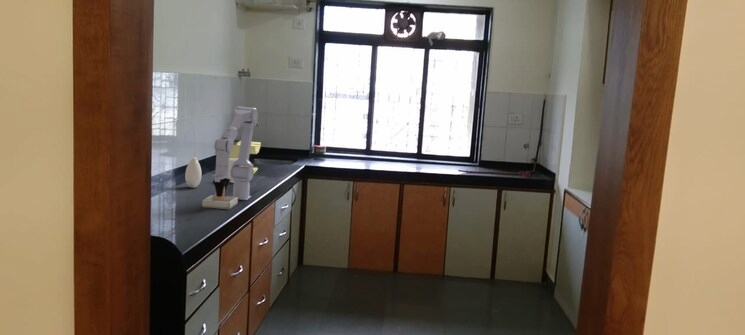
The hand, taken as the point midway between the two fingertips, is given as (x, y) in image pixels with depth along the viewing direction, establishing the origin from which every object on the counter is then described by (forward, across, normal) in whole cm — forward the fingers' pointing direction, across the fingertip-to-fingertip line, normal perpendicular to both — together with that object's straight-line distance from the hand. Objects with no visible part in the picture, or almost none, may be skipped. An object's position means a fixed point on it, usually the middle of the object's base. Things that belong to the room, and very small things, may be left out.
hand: (220, 195), depth 255 cm
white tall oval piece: (+5, -37, -25) cm, 45 cm away
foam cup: (+5, -65, -11) cm, 66 cm away
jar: (+2, 0, 0) cm, 2 cm away
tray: (+4, 0, 0) cm, 4 cm away
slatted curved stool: (+5, -111, -17) cm, 112 cm away
